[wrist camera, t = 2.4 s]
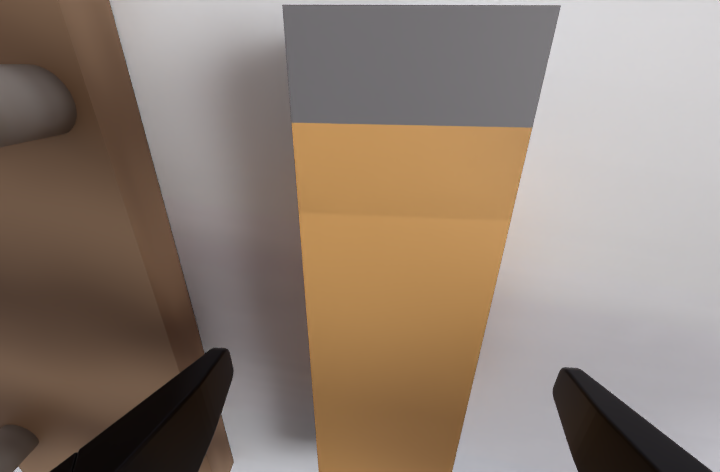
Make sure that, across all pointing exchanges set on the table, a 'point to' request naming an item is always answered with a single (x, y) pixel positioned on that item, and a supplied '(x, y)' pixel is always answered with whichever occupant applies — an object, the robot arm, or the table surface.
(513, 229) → the table surface
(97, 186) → the rack
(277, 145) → the table surface
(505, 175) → the bar
